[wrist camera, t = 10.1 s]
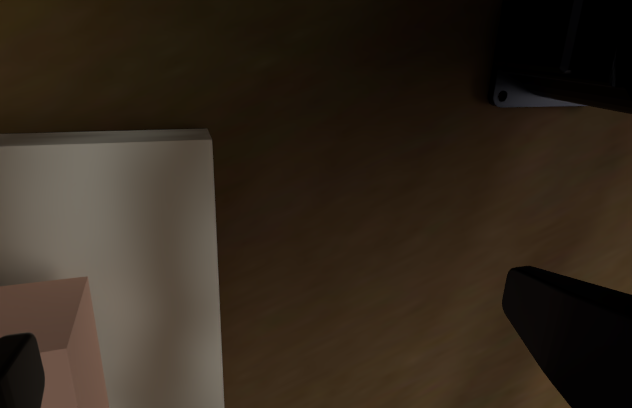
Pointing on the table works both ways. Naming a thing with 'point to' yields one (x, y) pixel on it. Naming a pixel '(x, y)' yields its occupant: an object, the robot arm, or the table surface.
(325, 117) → the table surface
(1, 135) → the post stand
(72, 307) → the collar
